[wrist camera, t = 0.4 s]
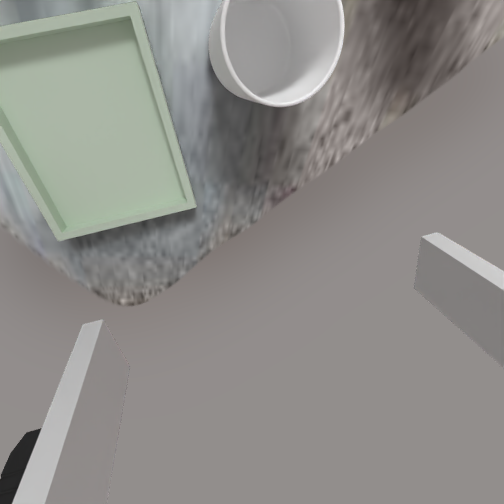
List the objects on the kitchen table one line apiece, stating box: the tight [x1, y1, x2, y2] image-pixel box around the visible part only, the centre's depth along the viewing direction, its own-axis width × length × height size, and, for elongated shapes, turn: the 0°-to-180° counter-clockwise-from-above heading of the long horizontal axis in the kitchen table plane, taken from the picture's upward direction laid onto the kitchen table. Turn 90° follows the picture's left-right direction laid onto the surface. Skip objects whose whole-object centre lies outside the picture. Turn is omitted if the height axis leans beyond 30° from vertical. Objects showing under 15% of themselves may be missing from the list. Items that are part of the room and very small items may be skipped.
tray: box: [0, 1, 197, 241], centre depth 29 cm, size 18×15×2 cm
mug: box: [208, 0, 344, 107], centre depth 24 cm, size 9×12×11 cm
